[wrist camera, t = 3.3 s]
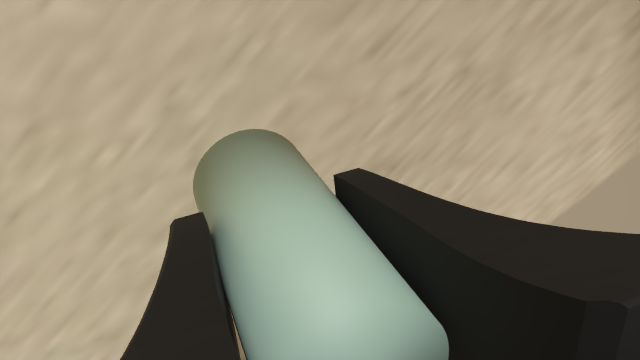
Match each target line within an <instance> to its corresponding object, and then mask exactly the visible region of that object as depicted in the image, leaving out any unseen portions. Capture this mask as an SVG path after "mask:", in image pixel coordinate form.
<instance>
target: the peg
mask: <svg viewBox="0 0 640 360" xmlns="http://www.w3.org/2000/svg"><path fill="white" fill-rule="evenodd" d="M193 193H194V197H195V201H196V204H197V207H198V210H199V213H200V212H203V213H204V216H205V218H206V221H207V224H208V226H209V230H210V234H211V238H212V242H213V246H214V250H215V253H216V257H217V261H218V265H219V269H220V274H221V279H222V283H223V288H224V291H225V294H226V297H227V300H228V304H229V307H230V310H231V313H232V316H233V319H234V322H235V325H236V328H237V331H238V335H239V338H240V341H241V344H242V347H243V350H244V353H245V356H246V359H247V360H448V357H449V344H448V339H447V335H446V332H445V331H444V329H443V327H442V325H441V324H440V323H439V322H438V320H437V319H436V318H435V317H434V316H433V314H432V313H431V312H430V311H429V309H428V308H427V307H426V306H425V305H424V303H423V302H422V301H421V300H420V299H419V297H418V296H417V295H416V294H415V292H414V291H413V290H412V289H411V288H410V286H409V285H408V284H407V283H406V281H405V280H404V279H403V278H402V277H401V275H400V274H399V273H398V272H397V271H396V269H395V268H394V267H393V266H392V264H391V263H390V262H389V261H388V260H387V258H386V257H385V256H384V255H383V253H382V252H381V251H380V250H379V249H378V247H377V246H376V245H375V244H374V243H373V241H372V240H371V239H370V238H369V236H368V235H367V234H366V233H365V232H364V230H363V229H362V228H361V227H360V225H359V224H358V223H357V222H356V221H355V219H354V218H353V217H352V216H351V215H350V213H349V212H348V211H347V210H346V208H345V207H344V206H343V205H342V204H341V202H340V201H339V200H338V199H337V198H336V196H335V195H334V194H333V193H332V191H331V190H330V189H329V188H328V187H327V185H326V184H325V183H324V182H323V180H322V179H321V178H320V177H319V176H318V174H317V173H316V172H315V171H314V170H313V168H312V167H311V166H310V165H309V163H308V162H307V161H306V160H305V159H304V157H303V156H302V155H301V154H300V152H299V151H298V150H297V149H296V148H295V146H294V145H293V144H292V143H291V142H290V141H289V140H287V139H286V138H284V137H283V136H281V135H279V134H277V133H275V132H271V131H268V130H262V129H250V130H243V131H238V132H236V133H233V134H230V135H228V136H226V137H224V138H222V139H221V140H219V141H218V142H216V143H215V144H214V145H213V146H212V147H211V148H210V149H209V150H208V151H207V152H206V153H205V154H204V156H203V157H202V159H201V160H200V162H199V164H198V166H197V169H196V171H195V175H194V180H193Z"/></svg>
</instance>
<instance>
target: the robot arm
mask: <svg viewBox="0 0 640 360" xmlns="http://www.w3.org/2000/svg"><path fill="white" fill-rule="evenodd" d="M334 182H335V192H336V198H337V199H338V200H339V201H340V202H341V204H342V205H343V206H344V207H345V208H346V210H347V211H348V212H349V213H350V215H351V216H352V217H353V218H354V219H355V221H356V222H357V223H358V224H359V225H360V227H361V228H362V229H363V230H364V232H365V233H366V234H367V235H368V236H369V238H370V239H371V240H372V241H373V243H374V244H375V245H376V246H377V247H378V249H379V250H380V251H381V252H382V253H383V255H384V256H385V257H386V258H387V260H388V261H389V262H390V263H391V264H392V266H393V267H394V268H395V269H396V271H397V272H398V273H399V274H400V275H401V277H402V278H403V279H404V280H405V281H406V283H407V284H408V285H409V286H410V288H411V289H412V290H413V291H414V292H415V294H416V295H417V296H418V297H419V299H420V300H421V301H422V302H423V303H424V305H425V306H426V307H427V308H428V309H429V311H430V312H431V313H432V314H433V316H434V317H435V318H436V319H437V320H438V322H439V323H440V324H441V325H442V327H443V329H444V331H445V332H446V335H447V339H448V344H449V357H448V360H640V234H627V233H613V232H602V231H590V230H581V229H572V228H565V227H558V226H551V225H545V224H539V223H533V222H527V221H522V220H517V219H513V218H508V217H504V216H500V215H495V214H491V213H487V212H483V211H479V210H476V209H472V208H469V207H466V206H462V205H459V204H456V203H453V202H450V201H446V200H443V199H441V198H438V197H435V196H432V195H429V194H426V193H424V192H421V191H418V190H416V189H413V188H410V187H408V186H405V185H403V184H400V183H398V182H395V181H393V180H390V179H387V178H385V177H382V176H380V175H377V174H375V173H372V172H369V171H366V170H363V169H360V168H357V169H353V170H350V171H346V172H342V173H339V174H335V175H334ZM120 360H241V359H240V354H239V349H238V343H237V338H236V333H235V328H234V323H233V319H232V315H231V311H230V307H229V304H228V300H227V297H226V294H225V291H224V288H223V283H222V279H221V274H220V269H219V265H218V261H217V257H216V253H215V250H214V246H213V242H212V238H211V234H210V230H209V226H208V224H207V221H206V218H205V216H204V213H203V212H200V213H196V214H192V215H189V216H185V217H182V218H178V219H175V220H174V221H173V222H172V224H171V225H170V234H169V241H168V246H167V250H166V254H165V258H164V261H163V264H162V267H161V271H160V274H159V277H158V280H157V283H156V286H155V288H154V291H153V293H152V296H151V298H150V301H149V303H148V305H147V308H146V310H145V313H144V315H143V317H142V319H141V321H140V323H139V326H138V328H137V330H136V332H135V334H134V336H133V337H132V339H131V341H130V343H129V345H128V347H127V349H126V350H125V352H124V354H123V356H122V357H121V359H120Z"/></svg>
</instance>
